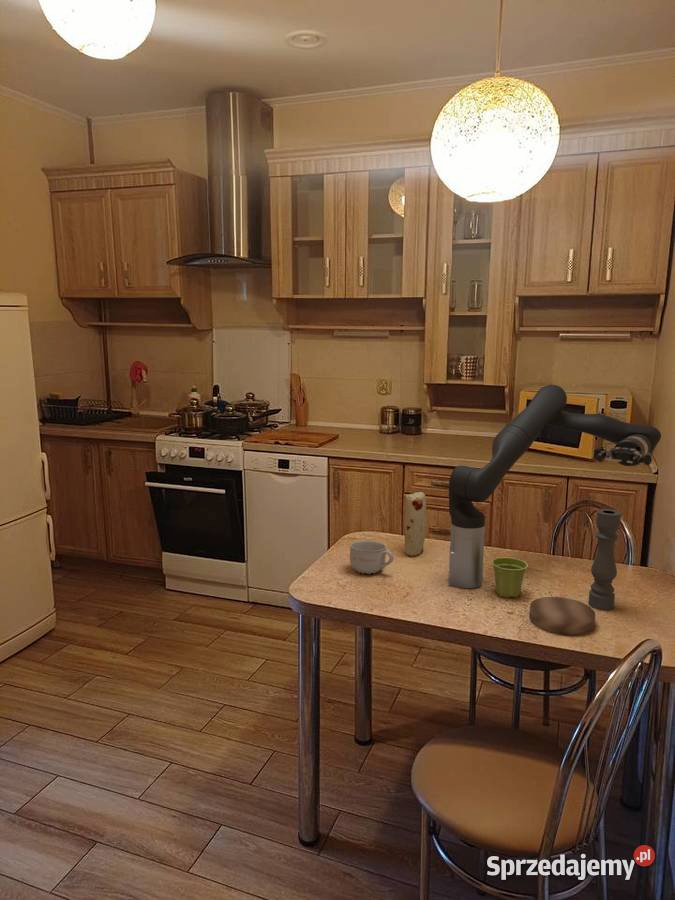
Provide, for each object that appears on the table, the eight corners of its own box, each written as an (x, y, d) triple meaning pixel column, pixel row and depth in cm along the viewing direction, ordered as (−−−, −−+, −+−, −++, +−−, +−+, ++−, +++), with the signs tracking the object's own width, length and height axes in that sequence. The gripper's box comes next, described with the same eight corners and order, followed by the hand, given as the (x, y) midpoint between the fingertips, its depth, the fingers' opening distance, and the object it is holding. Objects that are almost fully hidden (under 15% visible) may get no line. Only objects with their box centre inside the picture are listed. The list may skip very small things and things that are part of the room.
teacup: (342, 569, 185) (342, 544, 184) (367, 561, 193) (368, 536, 191) (375, 583, 175) (376, 556, 174) (401, 573, 182) (402, 547, 181)
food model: (419, 559, 194) (421, 497, 190) (399, 556, 197) (400, 494, 193) (428, 550, 203) (430, 490, 199) (409, 547, 205) (410, 488, 202)
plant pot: (498, 584, 175) (500, 554, 174) (531, 592, 170) (533, 562, 168) (484, 594, 168) (485, 564, 166) (518, 603, 162) (519, 572, 161)
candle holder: (616, 611, 158) (625, 516, 153) (590, 609, 159) (598, 514, 154) (611, 601, 164) (619, 509, 159) (586, 599, 165) (593, 508, 160)
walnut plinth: (534, 633, 146) (535, 621, 146) (525, 606, 161) (525, 595, 160) (601, 637, 144) (602, 625, 144) (586, 609, 159) (587, 598, 158)
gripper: (605, 435, 181) (589, 443, 169) (659, 440, 173) (647, 449, 160) (603, 460, 183) (587, 470, 170) (657, 466, 174) (644, 477, 162)
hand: (616, 460), depth 165 cm, fingers open, 8 cm apart
